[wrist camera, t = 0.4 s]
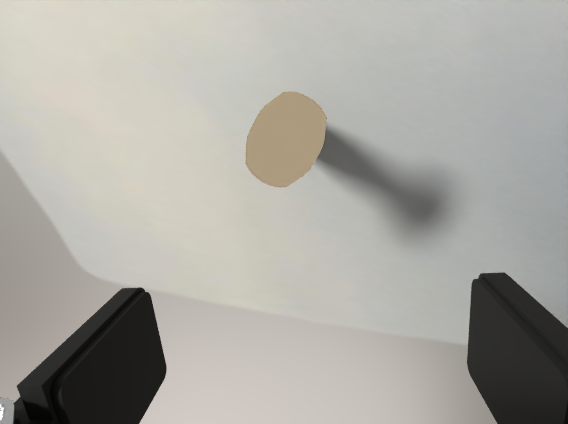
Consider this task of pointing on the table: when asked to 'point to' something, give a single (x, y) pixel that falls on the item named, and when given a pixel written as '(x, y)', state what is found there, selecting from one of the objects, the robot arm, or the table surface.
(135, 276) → the table surface
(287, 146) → the handle
